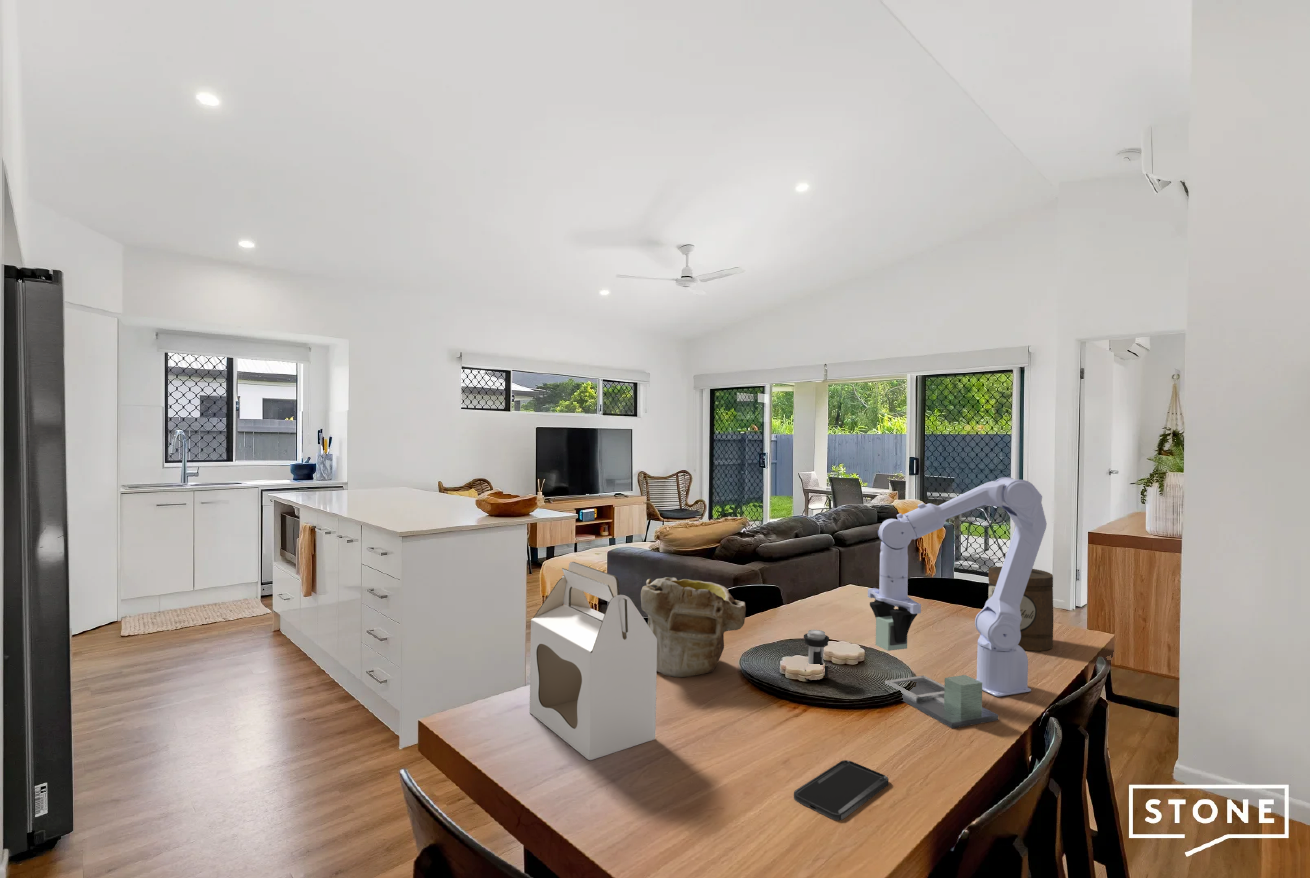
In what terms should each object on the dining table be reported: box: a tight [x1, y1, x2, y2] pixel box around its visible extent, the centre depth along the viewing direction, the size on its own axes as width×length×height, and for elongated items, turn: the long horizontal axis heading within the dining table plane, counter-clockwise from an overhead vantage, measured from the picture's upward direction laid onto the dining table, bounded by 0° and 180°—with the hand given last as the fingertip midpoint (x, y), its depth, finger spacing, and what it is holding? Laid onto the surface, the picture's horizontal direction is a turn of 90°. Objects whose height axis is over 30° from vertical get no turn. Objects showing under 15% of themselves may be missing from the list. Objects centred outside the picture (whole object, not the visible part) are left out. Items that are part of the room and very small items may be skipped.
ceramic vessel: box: [640, 576, 747, 678], centre depth 146 cm, size 23×24×25 cm
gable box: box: [529, 561, 658, 761], centre depth 116 cm, size 22×13×28 cm, turn 36°
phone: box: [793, 759, 889, 821], centre depth 97 cm, size 8×1×15 cm
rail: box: [885, 674, 999, 729], centre depth 129 cm, size 20×11×7 cm, turn 20°
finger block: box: [875, 616, 908, 652], centre depth 141 cm, size 4×5×6 cm
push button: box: [803, 629, 830, 677], centre depth 140 cm, size 7×5×10 cm
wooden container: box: [987, 566, 1054, 652], centre depth 169 cm, size 15×15×22 cm
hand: (892, 638), depth 141 cm, fingers closed on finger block, 4 cm apart
